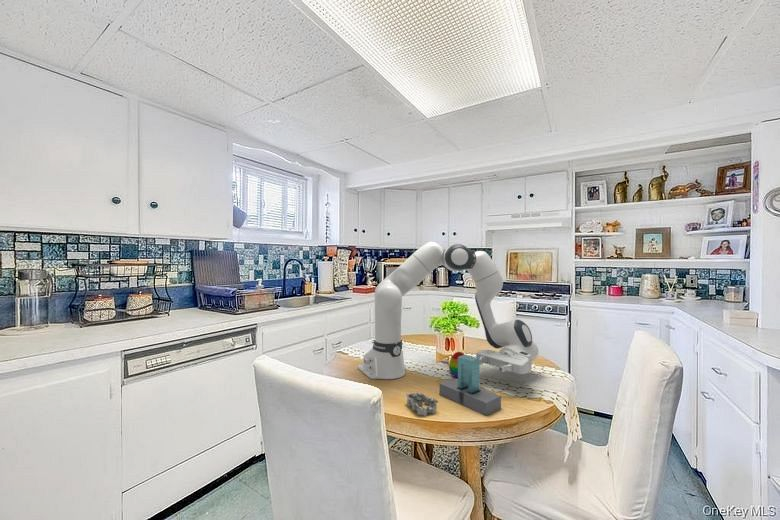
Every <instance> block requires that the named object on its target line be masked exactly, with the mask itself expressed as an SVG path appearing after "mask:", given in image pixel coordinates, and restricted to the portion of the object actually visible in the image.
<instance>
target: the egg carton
mask: <svg viewBox="0 0 780 520" xmlns="http://www.w3.org/2000/svg"><path fill="white" fill-rule="evenodd" d="M405 395H406V398H407V399H406V405H407V407H411V410H412V411H413V410H416V411H417V415H418V416H423V415H424V417H425V415H426V416H427V415H428V414H433V413H434V414H436V412H437V409H438V408H437V404H438V403H439V400H437V399H436V398H434V397H433V398H432V397H431V396H428V395H424V393H423V392H420V393H419V392H416V393H415V392H413V393H405ZM423 404H424V405H426V406H427V407H426V408H425V407H423V406H424V405H423Z"/></svg>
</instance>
